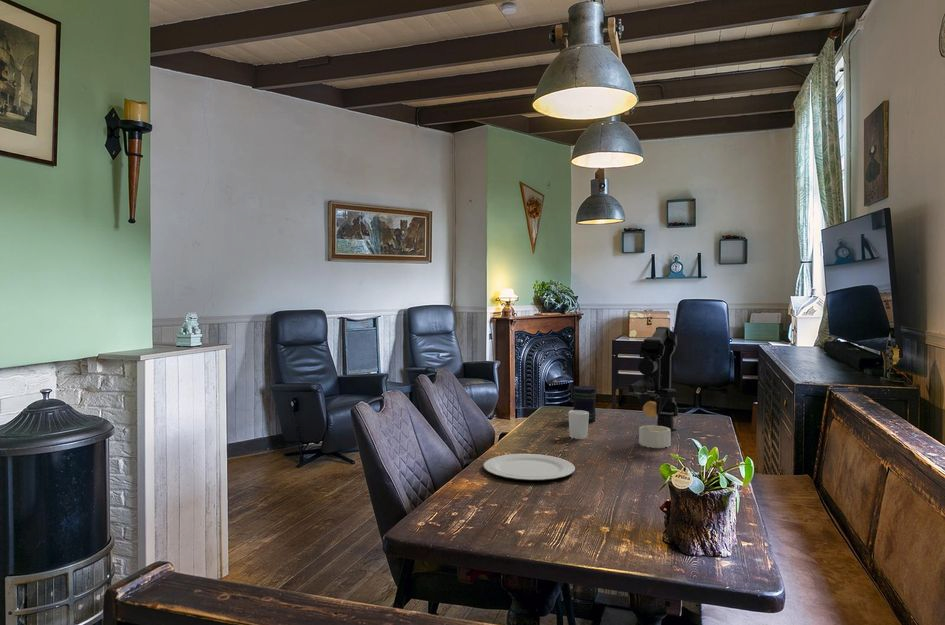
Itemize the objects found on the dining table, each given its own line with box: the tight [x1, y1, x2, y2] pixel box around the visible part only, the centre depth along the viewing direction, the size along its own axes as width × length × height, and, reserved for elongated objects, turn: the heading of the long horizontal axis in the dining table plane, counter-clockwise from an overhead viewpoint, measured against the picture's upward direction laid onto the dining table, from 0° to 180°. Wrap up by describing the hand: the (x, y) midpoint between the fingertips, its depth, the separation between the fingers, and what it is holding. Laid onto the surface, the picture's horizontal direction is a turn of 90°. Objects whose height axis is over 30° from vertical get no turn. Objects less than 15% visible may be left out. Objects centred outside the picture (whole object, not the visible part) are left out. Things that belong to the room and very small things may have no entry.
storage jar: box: [572, 385, 597, 424], centre depth 276 cm, size 10×10×15 cm
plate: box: [483, 453, 576, 482], centre depth 199 cm, size 29×29×2 cm
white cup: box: [568, 410, 589, 440], centre depth 245 cm, size 8×8×10 cm
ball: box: [642, 400, 658, 418], centre depth 235 cm, size 6×6×6 cm
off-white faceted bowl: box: [638, 424, 672, 449], centre depth 234 cm, size 11×11×6 cm
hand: (651, 413), depth 236 cm, fingers closed on ball, 6 cm apart
